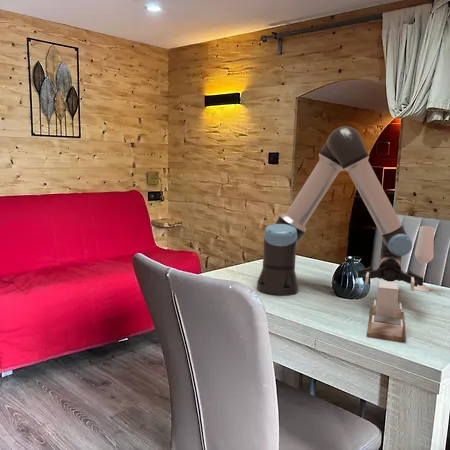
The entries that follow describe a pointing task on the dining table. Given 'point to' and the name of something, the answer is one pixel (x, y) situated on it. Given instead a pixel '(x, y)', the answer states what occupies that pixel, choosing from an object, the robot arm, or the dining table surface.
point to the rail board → (387, 325)
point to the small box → (387, 299)
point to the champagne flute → (424, 250)
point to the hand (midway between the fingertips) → (389, 283)
